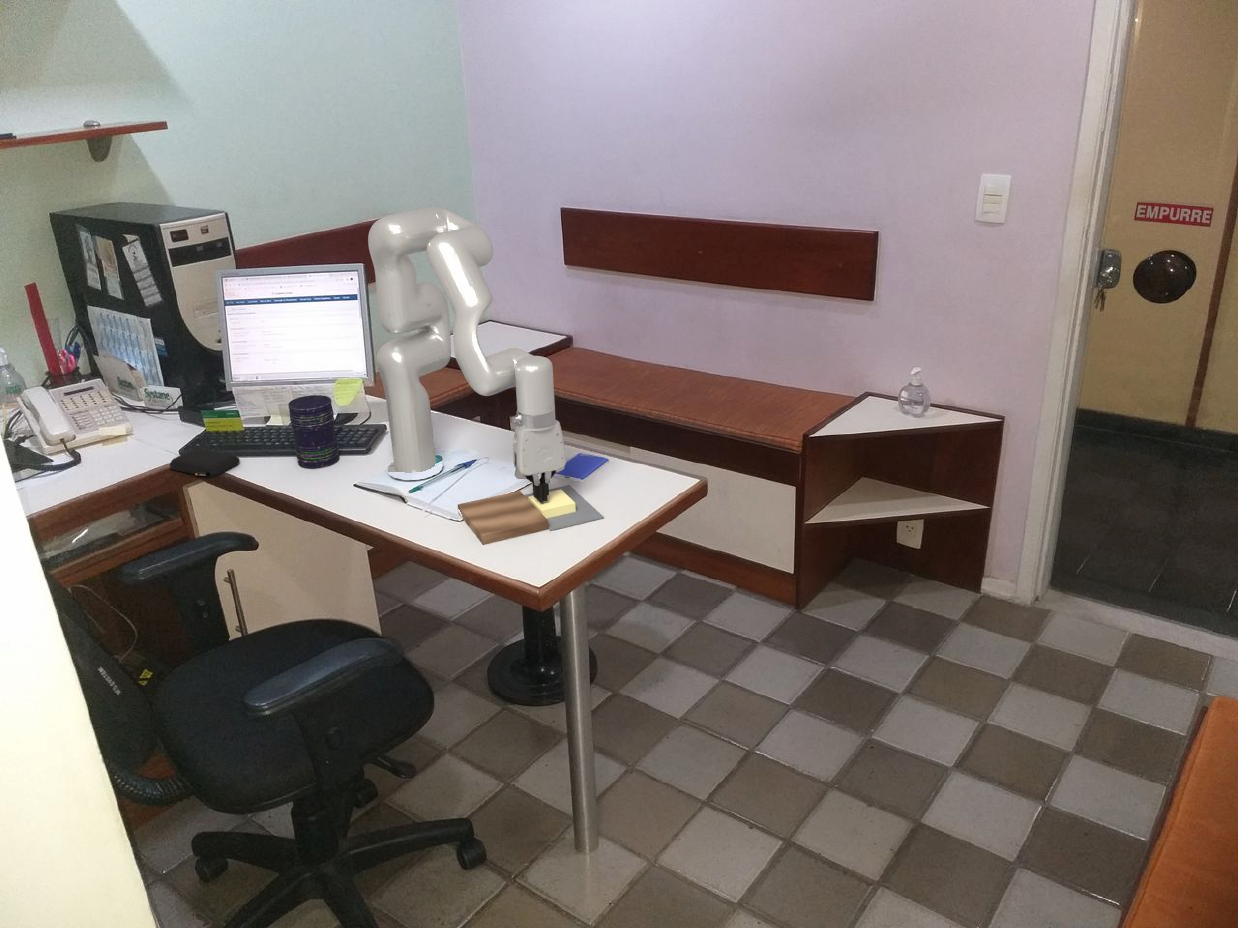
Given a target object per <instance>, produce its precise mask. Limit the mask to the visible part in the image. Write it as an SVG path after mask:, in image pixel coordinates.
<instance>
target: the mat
mask: <svg viewBox="0 0 1238 928" xmlns="http://www.w3.org/2000/svg"><path fill="white" fill-rule="evenodd" d="M556 490H562V491H563V492H564V493H565V494H566V495H568V496H569V497H570V498H571V499H572V500H573V501H574V502H575V506H576V512H572V513H567V514H563V515H559V516H555V517H550V518H546V519H547V520H548V526H549V529H548V530H549V531H550V532H552V531H558V530H561V529H567V528H569V527H570V528H571V527H574V526H578V525H579V526H580V525H582V524H586V523H590V522H595V521H600V520H603V519H605V516H604V515H602V513H600V512H599V511H598V510H597V509H596V508H595V507H594V506H593V505H592V504H591V503H590V502H589V501H588V500H586V499H585V497H583V496H582V495H581V494H580V493H578V492H577V491H576V490H575V488H573V486H571V485H570V484H567V485H563V486H558V487H554V488H550V489H549V492H552V491H556ZM524 496H525V497H526V498H527V499H528V497H529V496H533V492H532V493H527V494H524Z"/></svg>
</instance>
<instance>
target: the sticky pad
mask: <svg viewBox="0 0 1238 928" xmlns="http://www.w3.org/2000/svg"><path fill="white" fill-rule="evenodd" d="M547 498H548V501H546V502H545V501H543V502H541V503H540V502H539V501H538V500H537V499H536V498H534V496H529V497H528V500H529V501H530V502H531V503H532V504H533V505H534V506H535V507H536V508H537V509H538V510H539V511H540V512H541V513H542V514H543V516H544V517H545V518H550V517H555V516H559V515H563V514H567V513H572V512H576V506H575V502H574V501H573V500H572V499H571V498H570V497H569V496H568V495H566V494H565V493H564V492H563V491H562V490H556V491H552V492H549V495H547Z"/></svg>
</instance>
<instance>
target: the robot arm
mask: <svg viewBox="0 0 1238 928" xmlns="http://www.w3.org/2000/svg"><path fill="white" fill-rule="evenodd" d="M367 239H368V240H367V242H368V243H367V244H368V250H369V254H370V257H371V261H372V264H373V268H374V274H375V275H374V276H375V285H376V288H375V289H376V295H377V296H376V298H377V304H378V305H377V307H378V314H379V320H380V325H381V327H382V328H383V330H385V331H386V332H387V333H388V334H392V335H402V334H406V333H410V332H412V331H417V332H414V333H410V334H407V335H404V336H403V335H402V336H400V337H397V338H395V339H392V340H389V341H388V342H386V343H384V344H383V345H382V346H380V348H379V349H378V350H377V354H376V358H375V360H376V361H375V362H376V366H377V370H378V373H379V375H380V379H381V382H382V386H383V389H384V390H383V391H384V396H385V403H386V410H387V417H388V418H387V419H388V425H389V427H388V428H389V433H390V434H389V435H390V440H391V441H390V443H391V448H392V449H391V450H392V451H391V452H392V457H393V462H391V463H390V464H389V465H388V467H387V473H388V472H405V473H413V472H423V471H426V470H428V469H431V468H432V467H434V466H435V464H436V458H437V457H436V450H435V449H436V448H435V439H434V432H433V421H432V411H431V403H430V397H429V394H428V391H427V390H426V388H425V386H423V385H422V383H421V382H420V378H421V377H424V376H425V375H428V374H431V373H434V372H436V371H439V370H441V369H443V368H445V367H447V365H448V364H449V362H450V360H451V356H452V347H453V353H454V356H455V360H456V362H457V364H458V367H459V368H460V370H461V373H462V375H463V376H464V378H465V380H466V382H467V383H468V385H469V386H470V387H471V389H472V390H473V391H474V392H475V393H477V394H478V395H480V396H484V397H489V396H493V395H496V394H499V393H502V392H503V391H507V390H508V389H511V388H515V393H516V394H515V395H516V408H517V410H516V415H514V416H511V422H512V424H515V423H516V424H515V428H514V434H513V444H512V446H513V448H512V450H513V451H512V456H513V457H512V458H513V460H512V461H513V467H514V468H515V470H514V477H515V479H517V480H528V481H529V482H530V483H531V484H532V493H533V496H534V498H536V499H537V500H538V501H539V502H540V503H541V502H543V501H545V502H546V501H548V498H547V495H549V487H550V486H549V484H550V483H551V480H552V478H553V477H555V476H554V474H555V473H556V472H559V471H561V470H563V469H564V468H565V467H564V466H565V464H566V462H567V458H566V449H565V442H564V435H563V431H562V427H561V423H560V421H559V420H557V419H556V406H555V405H556V404H555V389H554V388H555V386H554V385H555V384H554V369H553V368H554V367H553V363H552V361H551V360H550V359H549V358H547V357H544V356H540V355H533V354H531V353H530V352H527V351H525V350H523V349H521V348H516V347H513V348H512V347H511V348H507V349H505V350H502V351H498V352H495V353H493V354H490V355H487V356H486V355H485V354H484V352H483V349H482V347H481V345H480V341H479V339H478V338H479V337H478V327H479V323H480V320H481V318H482V316H483V315H484V313H485V312H486V311H487V310H488V309H489V308H490V307H491V306H492V304H493V301H494V296H493V295H494V294H493V293H492V291H491V289H490V287H489V285H488V283H487V281H486V279H485V277H484V275H483V273H482V271H481V269H480V268H481V267H484V266H486V265H488V264H489V263H490V262H491V261H492V259H493V255H494V246H493V243H492V240H491V238H490V237H489V235H488V234H487V232H486V231H485V230H483V228H482V227H480V226H479V225H477V224H476V223H473V222H472V221H470V220H468V219H466V218H465V217H462V216H461V215H458V214H457V213H455V212H452V211H451V210H449V209H448V208H444V207H439V206H430V207H424V208H419V209H413V210H407V211H402V212H401V211H400V212H397V213H392V214H388V215H386V216H383V217H382V218H381V217H380V218H379V219H378V220H376V221H375V222H374V223H373V224H372V225H371V227H370V229H369V232H368V238H367ZM421 252H425V253H426V257H427V259H428V262H429V265H430V267H431V268H432V271H433V272H434V275H435V276H436V279H437V281H438V282H439V284H440V287H441V288H442V289H441V288H440V287H439V285H436V284H435V283H433V282H428V281H426V282H425V281H423V282H419V283H418V281H417V271H416V268H415V265H414V263H413V262H412V259H411V258H410V257H409V255H412V254H417V253H421ZM448 303H449V304H450V306H451V309H452V310H453V313H454V315H455V316H454V317H455V320H454V325H453V330H452V332H453V334H452V338H451V326H450V323H451V322H450V312H449V311H450V310H449V305H448ZM451 339H452V340H451ZM451 341H453V342H451ZM452 343H453V345H452ZM539 474H540V476H539Z"/></svg>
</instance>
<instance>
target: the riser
mask: <svg viewBox="0 0 1238 928" xmlns="http://www.w3.org/2000/svg"><path fill="white" fill-rule="evenodd" d="M524 495H525V494H523V492H522V491H521V490H517V491H514V492H513V491H512V492H507V493H503V494H500V495H495V496H490V497H485V498H481V499H476V500H472V501H468V502H467V501H466V502H463V503H458V504H457V510H458V509H459V510H460V512H461V514H462V517H463V518H462V517H461V518H462V520H463V521H464V522H465V524H467V526H468V528H469V529H470V530H471V531H472V533H473V534H474V535H475V536H476V538H477V539H478V540H479V542H480V543H481V544H482V545H488V544H492V543H497V542H501V541H504V540H505V541H506V540H508V539H509V540H510V539H514V538H519V537H521V536H526V535H527V536H528V535H530V534H534V533H539V532H543V531H547V530H549V526H548V520H547V519H546V518H545V517H544V516H543V514H542V513H541V512H540V511H539V510H538V509H537V508H536V507H535V506H534V505H533V504H532V503H531V502H530V501H529V500H528V499H527V498H526V497H525V496H524Z"/></svg>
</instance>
